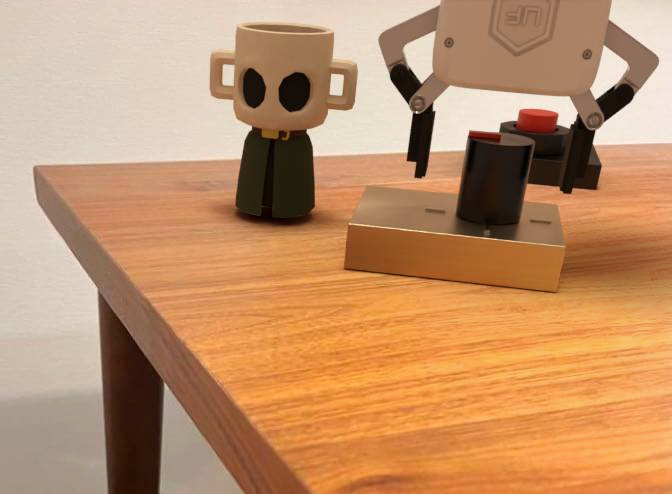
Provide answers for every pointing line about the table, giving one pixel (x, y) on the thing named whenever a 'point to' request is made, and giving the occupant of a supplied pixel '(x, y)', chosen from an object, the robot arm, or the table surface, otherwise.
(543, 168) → the button box
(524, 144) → the knob
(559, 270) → the panel
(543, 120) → the button
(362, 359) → the table surface
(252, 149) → the character mug
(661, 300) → the table surface
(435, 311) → the table surface
